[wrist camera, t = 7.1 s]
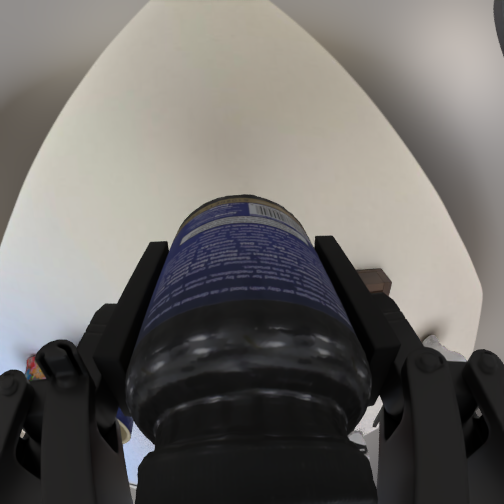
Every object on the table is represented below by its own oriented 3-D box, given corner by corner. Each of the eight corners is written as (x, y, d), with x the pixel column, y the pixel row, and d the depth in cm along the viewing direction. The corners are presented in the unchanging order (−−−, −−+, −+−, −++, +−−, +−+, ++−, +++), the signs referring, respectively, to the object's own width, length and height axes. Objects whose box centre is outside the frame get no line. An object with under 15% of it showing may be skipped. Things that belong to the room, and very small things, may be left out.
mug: (367, 429, 53) (375, 454, 47) (353, 443, 55) (359, 466, 50) (327, 432, 51) (333, 459, 45) (314, 446, 54) (319, 471, 48)
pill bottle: (147, 234, 13) (31, 482, 3) (271, 164, 12) (410, 438, 2) (219, 327, 15) (215, 545, 6) (328, 278, 14) (420, 501, 4)
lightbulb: (447, 334, 40) (478, 380, 31) (418, 358, 42) (445, 406, 32) (436, 316, 38) (472, 366, 28) (405, 342, 40) (434, 396, 30)
